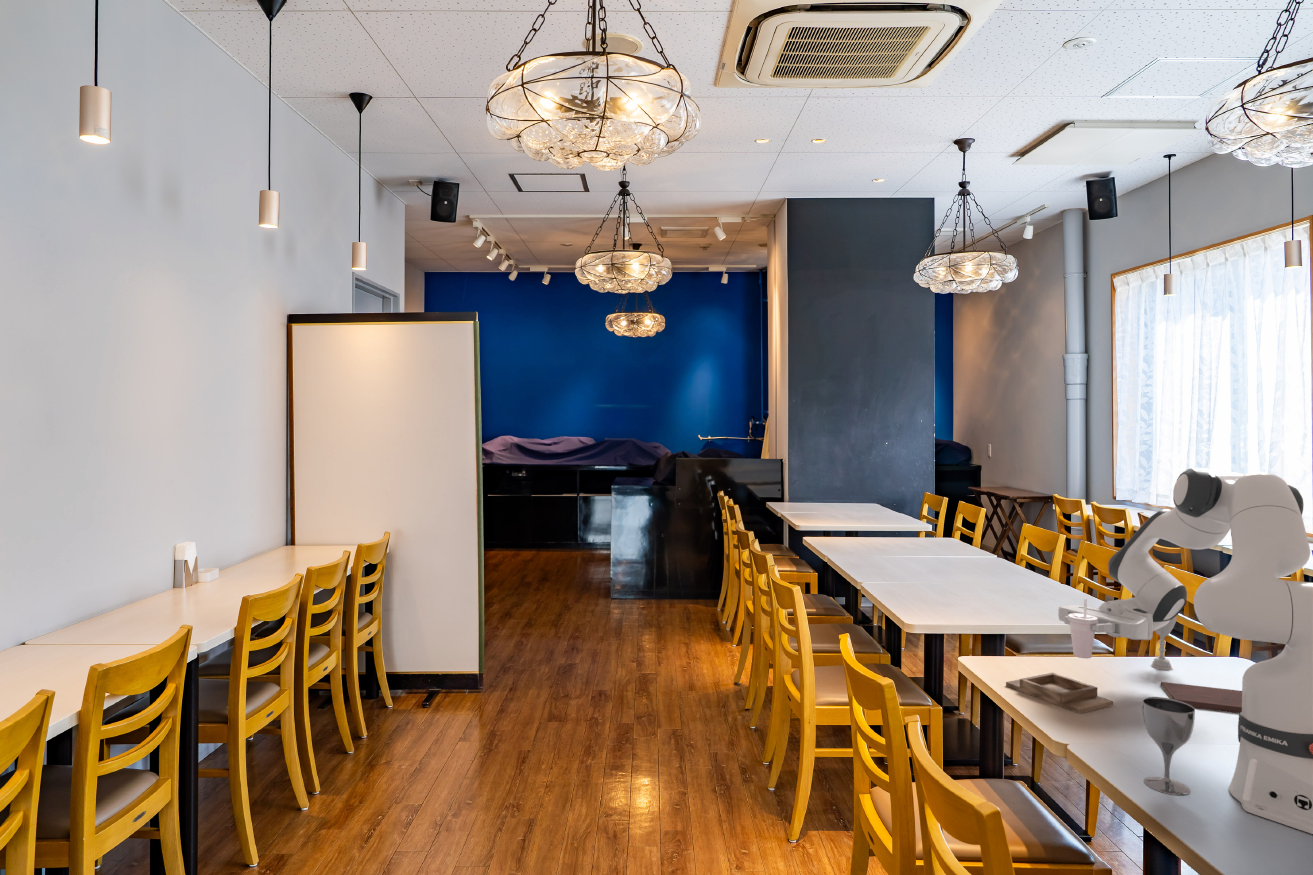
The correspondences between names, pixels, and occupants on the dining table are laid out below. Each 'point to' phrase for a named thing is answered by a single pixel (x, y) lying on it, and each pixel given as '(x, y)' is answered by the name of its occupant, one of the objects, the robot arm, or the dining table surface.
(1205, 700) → the notebook
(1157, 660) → the chalice
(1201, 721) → the dining table surface
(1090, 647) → the smoothie
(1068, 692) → the tray
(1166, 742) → the wine glass
